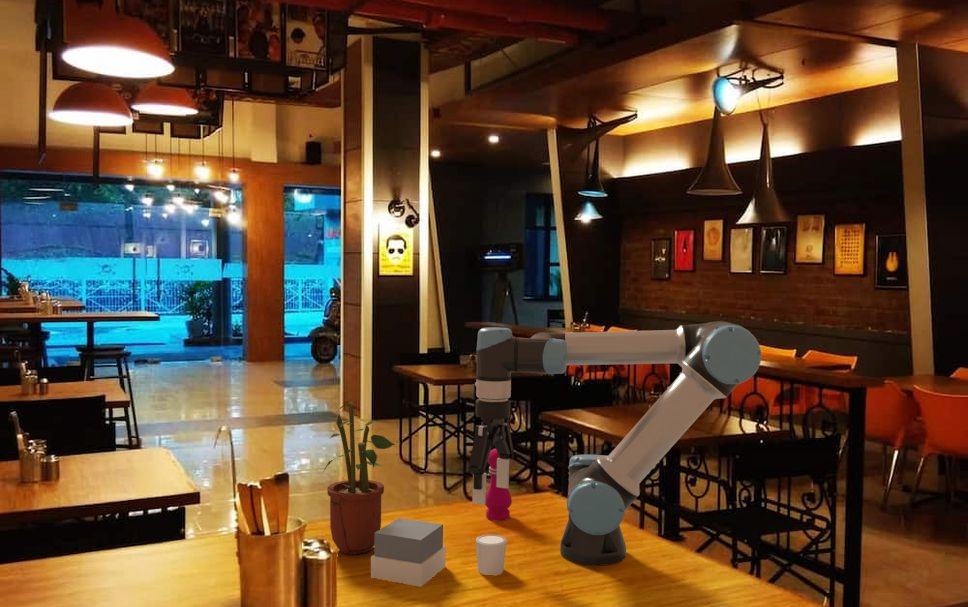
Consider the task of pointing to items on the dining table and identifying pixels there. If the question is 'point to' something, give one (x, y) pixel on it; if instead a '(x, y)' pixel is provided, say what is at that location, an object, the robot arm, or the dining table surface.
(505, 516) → the pepper mill
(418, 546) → the tower top
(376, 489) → the potted plant
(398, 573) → the tower base
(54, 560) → the dining table surface
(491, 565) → the white cup
